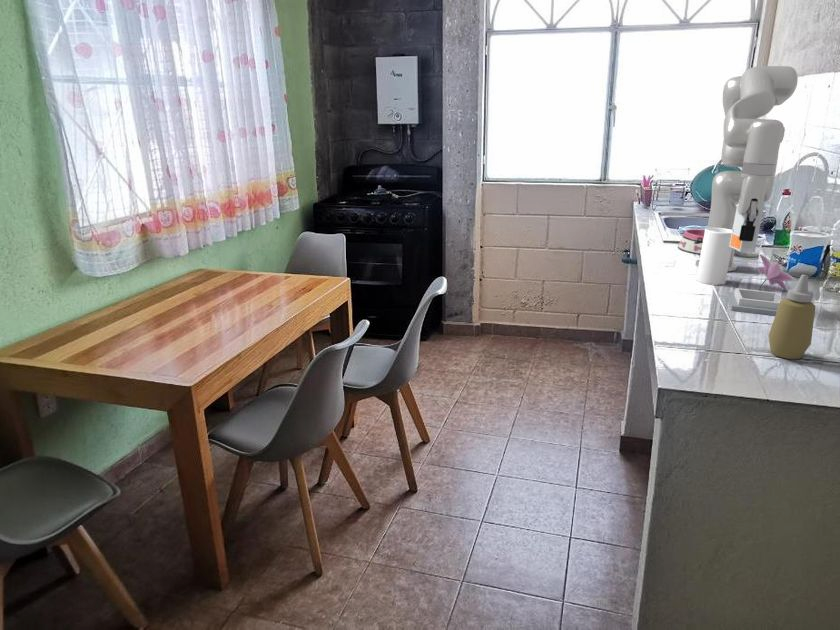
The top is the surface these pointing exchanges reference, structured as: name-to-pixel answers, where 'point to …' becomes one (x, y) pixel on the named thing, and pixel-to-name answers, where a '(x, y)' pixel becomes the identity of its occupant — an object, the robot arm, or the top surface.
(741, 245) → the skincare box
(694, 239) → the dog bowl
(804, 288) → the squeeze bottle
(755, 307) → the grey square frame
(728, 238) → the cup
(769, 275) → the lily
